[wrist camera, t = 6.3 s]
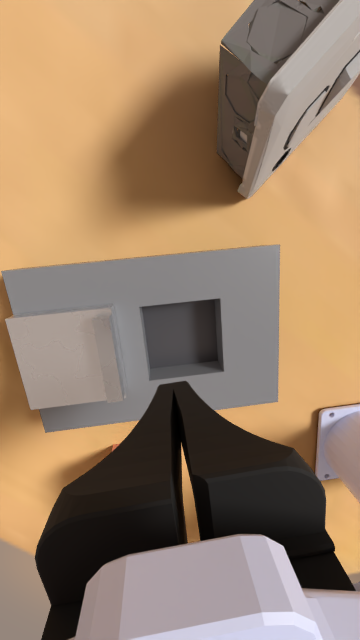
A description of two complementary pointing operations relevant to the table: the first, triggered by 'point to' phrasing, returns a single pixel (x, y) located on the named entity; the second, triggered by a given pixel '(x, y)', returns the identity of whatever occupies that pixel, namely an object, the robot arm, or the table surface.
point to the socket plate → (171, 325)
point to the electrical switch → (282, 80)
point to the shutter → (69, 356)
